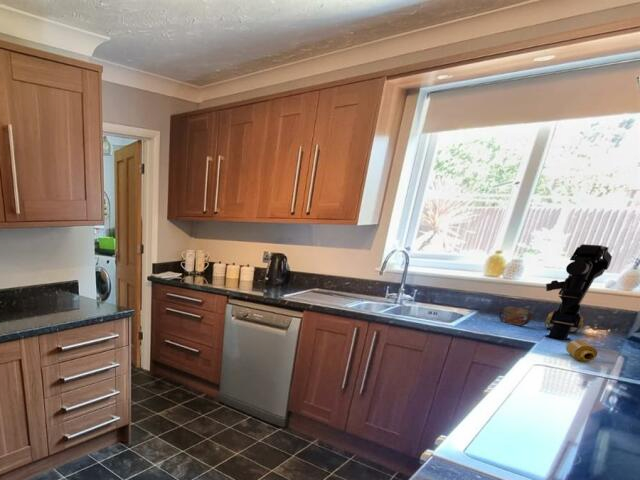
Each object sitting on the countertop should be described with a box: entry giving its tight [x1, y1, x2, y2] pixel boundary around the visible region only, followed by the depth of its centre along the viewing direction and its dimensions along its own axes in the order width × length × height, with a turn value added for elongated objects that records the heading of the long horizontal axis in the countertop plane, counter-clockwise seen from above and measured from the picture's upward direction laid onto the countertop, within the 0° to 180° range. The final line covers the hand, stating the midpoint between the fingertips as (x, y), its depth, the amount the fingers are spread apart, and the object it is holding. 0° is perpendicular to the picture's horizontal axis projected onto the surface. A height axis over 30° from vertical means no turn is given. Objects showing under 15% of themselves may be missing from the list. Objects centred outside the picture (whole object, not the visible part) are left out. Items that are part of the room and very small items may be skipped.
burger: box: [544, 311, 584, 333], centre depth 208 cm, size 14×14×10 cm
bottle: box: [565, 339, 598, 363], centre depth 162 cm, size 6×6×15 cm
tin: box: [498, 305, 533, 326], centre depth 218 cm, size 15×3×8 cm, turn 6°
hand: (561, 313), depth 182 cm, fingers closed
